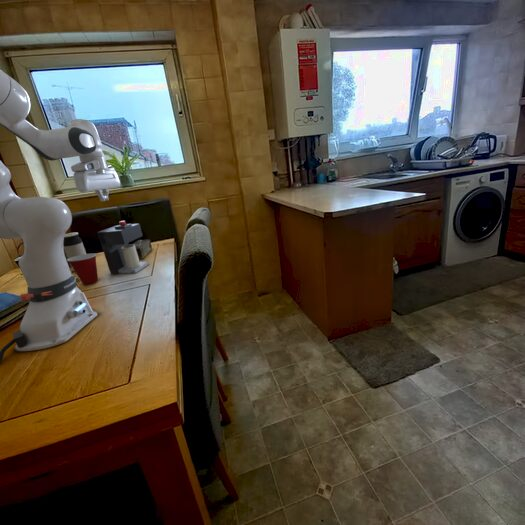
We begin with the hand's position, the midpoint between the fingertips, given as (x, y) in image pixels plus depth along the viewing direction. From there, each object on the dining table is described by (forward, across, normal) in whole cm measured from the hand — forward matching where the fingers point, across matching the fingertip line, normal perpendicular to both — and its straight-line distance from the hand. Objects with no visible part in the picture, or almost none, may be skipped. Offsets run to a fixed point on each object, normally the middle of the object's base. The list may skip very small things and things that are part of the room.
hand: (104, 200), depth 115 cm
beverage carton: (+32, -26, -10) cm, 43 cm away
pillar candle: (+32, -15, -42) cm, 55 cm away
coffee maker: (+33, -6, -2) cm, 33 cm away
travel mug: (+33, -8, -32) cm, 46 cm away
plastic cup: (+33, +8, -12) cm, 36 cm away
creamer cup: (+31, -6, 0) cm, 32 cm away
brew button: (+11, -5, +1) cm, 13 cm away
